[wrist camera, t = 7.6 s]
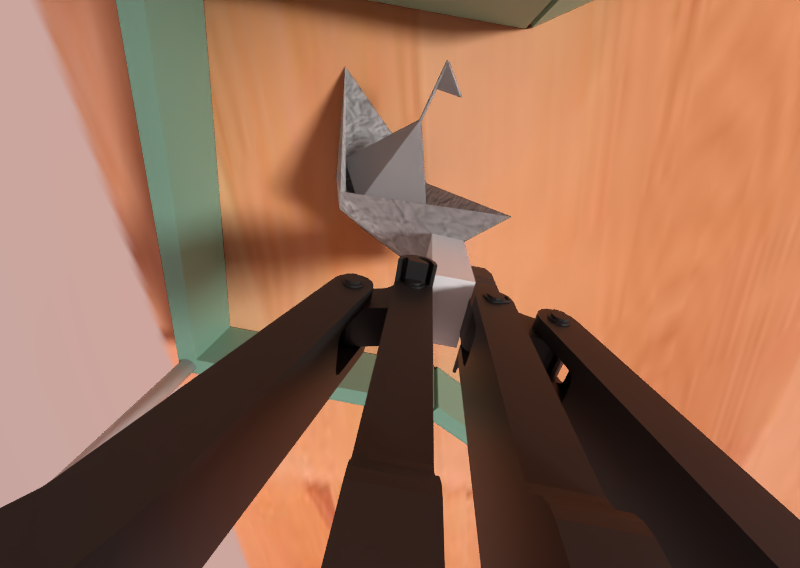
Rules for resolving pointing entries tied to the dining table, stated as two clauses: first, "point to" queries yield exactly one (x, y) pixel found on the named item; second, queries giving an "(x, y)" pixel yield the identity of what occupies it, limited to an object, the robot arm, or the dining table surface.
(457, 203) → the paper boat
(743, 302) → the dining table surface
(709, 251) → the dining table surface
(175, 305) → the green u-shaped frame
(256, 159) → the dining table surface
